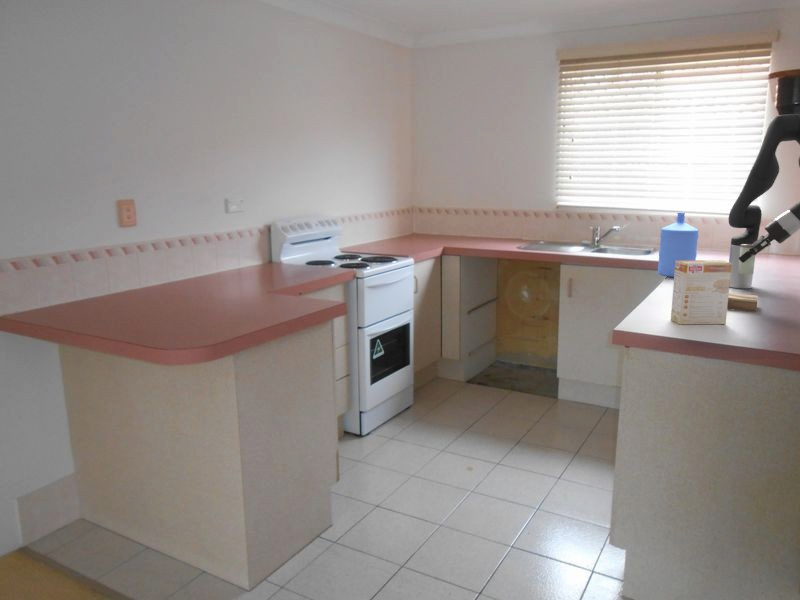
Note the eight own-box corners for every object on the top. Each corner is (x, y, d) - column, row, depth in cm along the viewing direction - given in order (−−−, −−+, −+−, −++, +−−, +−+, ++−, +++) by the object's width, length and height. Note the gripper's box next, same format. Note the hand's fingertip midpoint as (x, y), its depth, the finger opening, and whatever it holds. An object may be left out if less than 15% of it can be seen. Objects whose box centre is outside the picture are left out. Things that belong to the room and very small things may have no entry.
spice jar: (738, 271, 233) (740, 243, 231) (753, 272, 231) (756, 244, 229) (737, 273, 229) (740, 244, 227) (753, 274, 227) (756, 245, 225)
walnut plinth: (725, 303, 237) (726, 292, 236) (756, 306, 232) (757, 295, 232) (723, 308, 229) (724, 297, 228) (755, 311, 224) (757, 300, 223)
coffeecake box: (715, 319, 213) (721, 259, 209) (726, 324, 206) (733, 262, 202) (669, 319, 212) (674, 259, 208) (679, 324, 205) (685, 263, 201)
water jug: (698, 278, 290) (704, 214, 284) (660, 277, 293) (665, 214, 287) (690, 273, 305) (695, 212, 299) (654, 271, 308) (659, 211, 302)
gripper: (775, 217, 229) (733, 249, 237) (776, 219, 217) (732, 253, 225) (791, 233, 228) (748, 265, 236) (793, 236, 215) (748, 270, 223)
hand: (740, 259), depth 230 cm, fingers closed on spice jar, 4 cm apart
